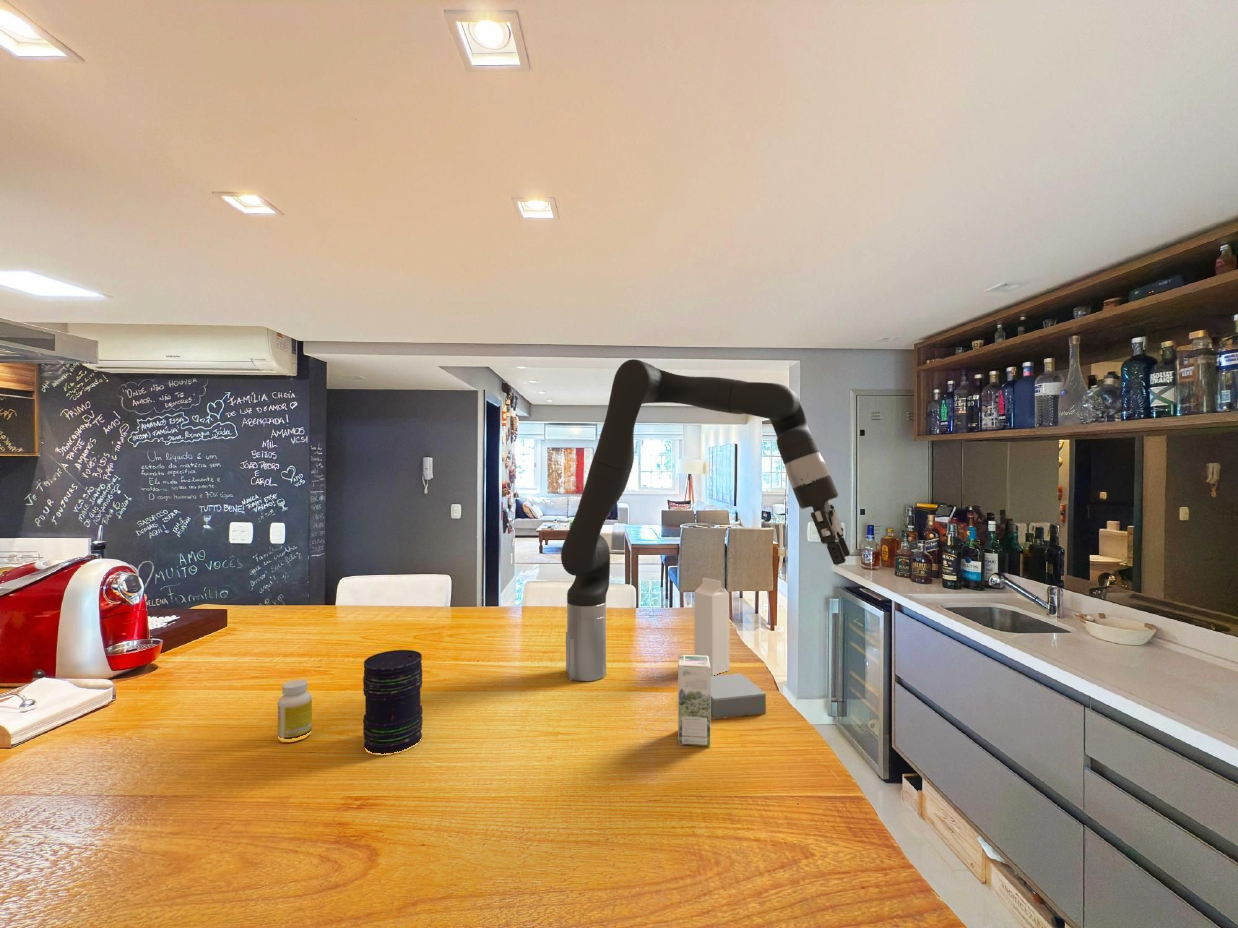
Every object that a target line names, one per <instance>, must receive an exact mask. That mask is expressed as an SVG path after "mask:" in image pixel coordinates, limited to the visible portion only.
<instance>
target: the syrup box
mask: <svg viewBox="0 0 1238 928" xmlns="http://www.w3.org/2000/svg"><path fill="white" fill-rule="evenodd" d="M677 661H678V662H677V677H678V678H677V702H678V703H677V732H678V733H677V734H678V735H677V736H678V737H677V738H678V745H679V746H692V747H711V727H712V726H711V725H712V723H711V719H712V716H711V667H710V662H709V657H708V656H703V655H695V654H678V657H677Z"/></svg>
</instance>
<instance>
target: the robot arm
mask: <svg viewBox="0 0 1238 928" xmlns="http://www.w3.org/2000/svg"><path fill="white" fill-rule="evenodd" d="M659 403H660V404H662V403H663V404H666V403H667V404H668V403H669V404H681V405H687V406H692V407H697V408H702V409H704V410H709V411H715V412H721V413H727V414H732V415H733V414H734V415H744V414H745V415H749V416H753V417H754V416H755V417H758V418H764V419H768V420H770V422H771V425H772V428H773V430H774V433H775V435H776V446H777V449H778V452H779V455H780V458H781V459H782V462H783V465H784V468H785V471H786V476H787V478H788V481H789V483H790V486H791V489H792V491H793V493H794V494H793V495H794V496H795V498H796V501H797V504H798V506H799V508H800V509H802V510H804V509H807V508H812V510H813V512H810V517H811V519H812V521H813V523H814V526H815V529H816V532H817V534H818V536H819V538H820V542H821V543H822V544H823V545H824V546H825V547H826V548H827V551H828V554H829V556H830V559H831V561H832V563H833V565H835V566H837V565H842V564H844V563H846V560H847V559H846V557H849V556H850V555H851V552H850V549H849V547H848V545H847V541H846V540H845V538H844V537H845V534H844V528H843V527H842V523H841V521H840V519H839V517H838V514H837V513H838V512H837V511H836V509H835V506H834V505H833V504H830V503H829V501H831V500H833V499H836V498H838V496H839V493H838V490H837V488H836V486H835V483H834V480H833V478H832V475H831V474H830V471H829V469H828V466H827V463H826V462H825V460H824V457H822V454H821V452H820V450H819V447H818V446H817V445H818V444H817V443H816V440H815V439H814V435H813V433H812V432H811V430H810V428H809V425H808V421H807V418H806V413H805V411H804V407H803V405H802V403H801V400H800V397H799V396H798V394H797V392H795V391H794V390H793V389H791V388H790V387H789V386H787V385H784V384H780V383H774V382H773V383H772V382H762V381H761V382H758V381H757V382H756V381H753V382H752V381H750V382H749V381H745V380H741V379H733V378H726V377H717V376H716V377H715V376H687V375H680V374H675V373H672V372H670V371H666V370H662V369H660V368H657V367H655V366H654V365H652V364H650V363H647V362H645V361H642V360H640V359H635V358H633V359H628V360H626V361H624V362H623V363H621V364H620V366H619V367H618V368H617V370H616V372H615V375H614V378H613V382H612V386H611V390H610V396H609V401H608V407H607V411H606V415H605V419H604V423H603V425H602V429H601V432H600V435H599V438H598V441H597V446H596V447H595V448H596V449H595V452H594V453H593V454H594V455H593V456H592V459H591V460H592V461H591V464H590V466H589V470H588V473H587V478H586V481H585V485H584V487H583V491H582V495H581V497H580V500H579V504H578V507H577V510H576V513H575V516H574V518H573V521H572V523H571V525H570V528H569V530H568V532H567V535H566V536H565V540H564V541H563V544H562V546H561V550H560V552H561V553H560V560H561V564H562V567H563V569H564V571H565V572H567V574H569V575H571V576H575V578H574V581H573V583H572V584H571V586H570V587H569V589H568V590H567V591H566V592H567V593H566V616H567V617H566V619H567V620H566V623H567V624H566V626H567V628H566V632H565V672H566V675H568V676H567V678H568V680H569V681H580V682H594V681H598V680H601V679H603V678H604V677H605V676H606V675H607V593H608V591H609V586H610V573H611V571H610V570H611V550H610V547H609V543H608V542H607V540H606V538H605V537H603V535H601V533H602V532H601V531H602V529H603V526H604V524H605V521H606V520H607V518H608V517H609V515H610V514H611V512H612V511H613V509H614V507H616V505H617V503H618V502H619V500H620V498H621V497H622V495H623V493H624V491H625V489H626V487H627V484H628V482H629V479H630V475H631V472H632V469H633V465H634V460H635V459H634V458H635V444H634V443H635V440H634V438H635V437H634V436H635V435H634V433H635V432H634V431H635V425H636V422H637V421H636V420H637V418H638V415H639V413H640V409H641V407H642V405H644V404H659Z"/></svg>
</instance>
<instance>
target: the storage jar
mask: <svg viewBox="0 0 1238 928" xmlns="http://www.w3.org/2000/svg"><path fill="white" fill-rule="evenodd" d="M422 657H423V655H422V653H421V652H420V651H416V650H412V649H394V650H387V651H382V652H380V653H376V654H373V655H371V656H369V657H367V658H366V659H365V660H364V661H363V669H364V670H363V679H362V683H363V689H362V691H363V695H364V697H365V702H364V703H365V713H364V715H363V720H362V723H363V728H362V729H363V733H362V734H363V740H364V742H363V748H364V747H365V748H366V749H367V750H368V751H370V752H372V753H381V754H384V753H385V754H386V753H394V752H397V751H398V752H399V751H402V750H404V749H407V748H409V747H411V746H413V745H415V744H416V743H418V742H419V741H420V739H421V738H422V739H423V734H422V729H423V723H424V722H423V712H424V711H423V706H422V705H421V688H422V687H423V667H422V664H423V663H422V660H423V659H422ZM422 739H421V740H422ZM420 742H421V741H420Z"/></svg>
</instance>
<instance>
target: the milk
mask: <svg viewBox="0 0 1238 928" xmlns="http://www.w3.org/2000/svg"><path fill="white" fill-rule="evenodd" d="M693 595H694V597H693V598H694V607H693V608H694V609H693V611H694V617H693V618H694V623H693V624H694V625H693V626H694V655H703V656H708V657H709V662H710V667H711V676H713V675H715V676H718V675H720V674H719V673H721V674H723V673H722V672H724V673H726V672H725V671H727V672H730V592H729V591H727V590H726V589H724V588H723V587H722V582H721V581H720V580H717V579H713V578H708V577H702V583H701V585H699V586H698V587H697V588H696V590H695V591H694V593H693ZM717 674H718V675H717Z"/></svg>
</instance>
